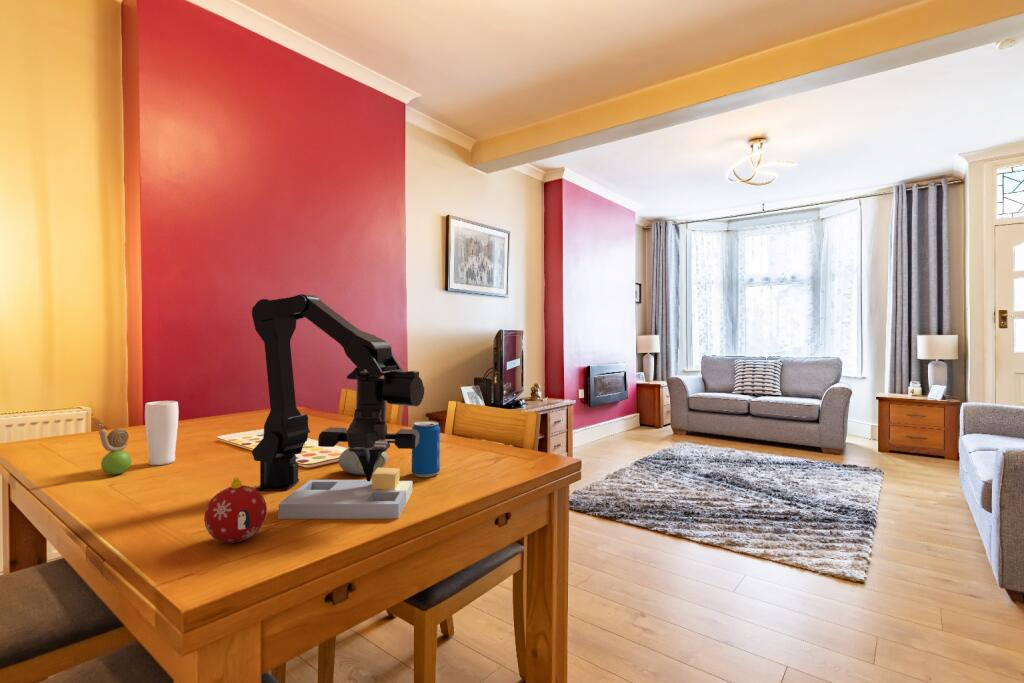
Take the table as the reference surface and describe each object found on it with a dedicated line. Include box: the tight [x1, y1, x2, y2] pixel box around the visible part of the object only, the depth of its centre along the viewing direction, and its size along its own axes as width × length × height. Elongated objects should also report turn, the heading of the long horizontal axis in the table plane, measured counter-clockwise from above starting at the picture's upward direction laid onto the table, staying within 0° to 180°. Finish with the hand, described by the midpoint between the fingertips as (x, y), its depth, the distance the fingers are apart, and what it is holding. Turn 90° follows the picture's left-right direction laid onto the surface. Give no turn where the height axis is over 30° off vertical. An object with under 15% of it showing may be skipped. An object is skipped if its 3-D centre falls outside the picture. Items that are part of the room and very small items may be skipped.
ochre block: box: [371, 467, 401, 490], centre depth 99 cm, size 4×4×3 cm
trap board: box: [278, 479, 414, 520], centre depth 95 cm, size 21×15×3 cm
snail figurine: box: [97, 423, 133, 476], centre depth 112 cm, size 5×6×12 cm
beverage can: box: [411, 420, 441, 478], centre depth 116 cm, size 6×6×12 cm
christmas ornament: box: [203, 476, 268, 544], centre depth 78 cm, size 9×9×10 cm
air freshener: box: [338, 447, 388, 476], centre depth 117 cm, size 11×8×10 cm
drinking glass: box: [144, 400, 180, 466], centre depth 122 cm, size 7×7×15 cm
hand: (369, 480), depth 99 cm, fingers closed
